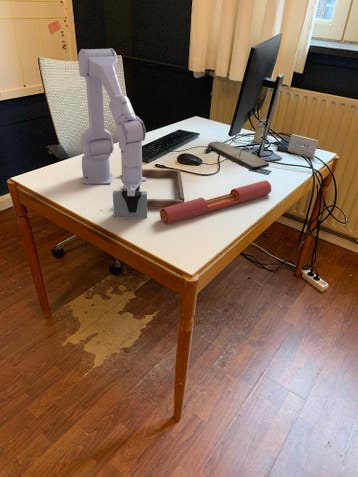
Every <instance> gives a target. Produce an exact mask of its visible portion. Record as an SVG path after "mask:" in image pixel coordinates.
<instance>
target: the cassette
mask: <svg viewBox="0 0 358 477" xmlns="http://www.w3.org/2000/svg"><path fill="white" fill-rule="evenodd" d="M318 142H319V140H317V139H313V138H309V137H306V136H302V135H297V134H294V133H292V134H291V135H290V139H289V143H288V148H287V151H288V152H290V153H293V154H297V155H301V156H303V157H308V158H315V154H316V151H317V150H316V149H317V147H318ZM301 144H302V145H301ZM303 145H305V146H303Z"/></svg>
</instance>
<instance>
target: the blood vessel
mask: <svg viewBox="0 0 358 477" xmlns="http://www.w3.org/2000/svg"><path fill="white" fill-rule="evenodd" d="M271 192H272V184H271V183H270V182H269V181H268V180H262V181H258V182H253V183H251V184H247V185H243V186H239V187H235V188H232V189H231V190H230V192H229V193H228V194H224V195H220V196H216V197H212V198H209V199H205V198H203V197H199V198H195V199H192V200H187V201H184V202H183V203H180V204H176V205H172V206H168V207H165V208H160V210H159V217H160V219H161V222H162V221H163V224H165V225H168V224H169V225H170V224H172V223H176V222H178V221H182V220H186V219H189V218H194V217H195V216H196V217H197V216H199V215H200V216H201V215H203V214H206V213H210V212H213V211H217V210H220V209H223V208H226V207H230V206H233V205H237V204H240V203H243V202H247V201H250V200H254V199H257V198H260V197H264V196H267V195H269V194H271Z"/></svg>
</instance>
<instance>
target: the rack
mask: <svg viewBox="0 0 358 477" xmlns="http://www.w3.org/2000/svg"><path fill="white" fill-rule="evenodd" d="M142 177H146V178H147V177H148V178H149V177H150V178H176V181H177V182H176V183H177V190H178V199H177V198H176V199H175V198H174V199H170V198H169V199H167V198H165V199H164V198H163V199H162V198H159V199H156V198H149V199H148V198H147V209H162V208H165V207H168V206H172V205H176V204H180V203H183V202H185V194H184V193H185V192H184V187H183V186H184V185H183V181H182V173H181V169H161V168H160V169H159V168H158V169H157V168H156V169H155V168H154V169H152V168H148V169H147V168H142Z"/></svg>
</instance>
